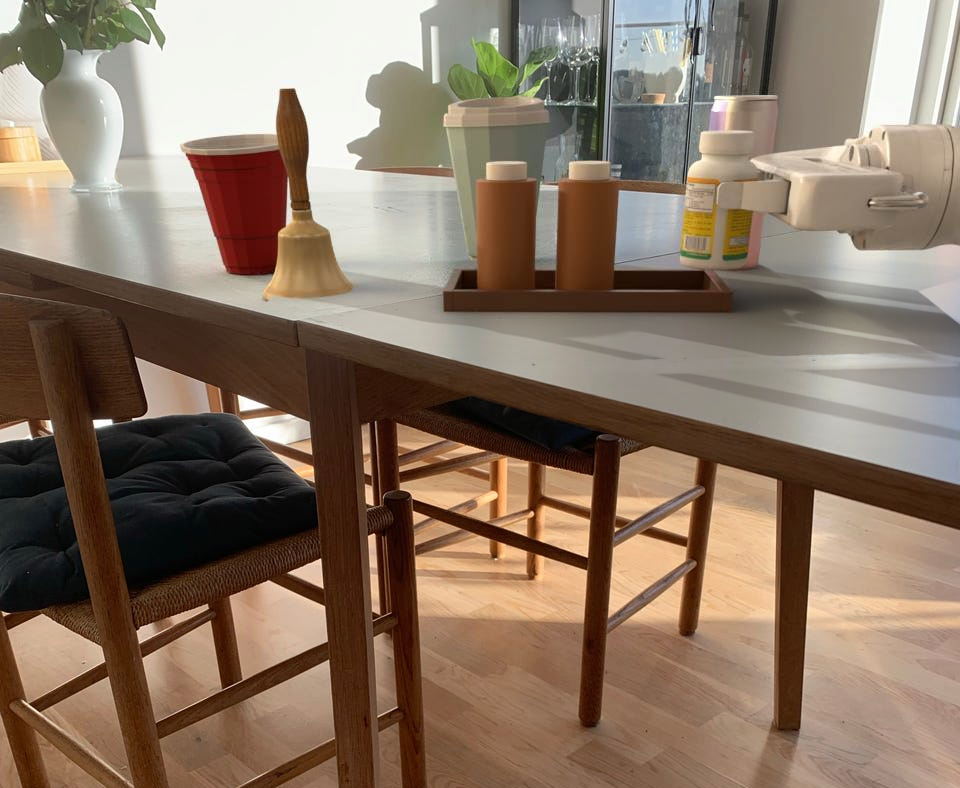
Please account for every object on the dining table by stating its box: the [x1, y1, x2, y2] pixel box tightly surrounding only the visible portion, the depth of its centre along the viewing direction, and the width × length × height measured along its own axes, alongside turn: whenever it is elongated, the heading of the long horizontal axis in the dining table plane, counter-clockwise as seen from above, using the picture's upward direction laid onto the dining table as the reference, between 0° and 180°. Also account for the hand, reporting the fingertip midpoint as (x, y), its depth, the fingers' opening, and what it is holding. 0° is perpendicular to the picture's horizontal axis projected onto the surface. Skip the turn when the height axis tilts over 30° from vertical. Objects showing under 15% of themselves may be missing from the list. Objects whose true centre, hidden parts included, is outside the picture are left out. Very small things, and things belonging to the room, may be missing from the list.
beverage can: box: [708, 94, 779, 272], centre depth 89 cm, size 6×6×15 cm
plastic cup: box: [179, 133, 289, 275], centre depth 93 cm, size 11×11×12 cm
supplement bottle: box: [679, 130, 758, 271], centre depth 74 cm, size 5×5×10 cm
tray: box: [442, 268, 734, 314], centre depth 79 cm, size 23×11×2 cm, turn 87°
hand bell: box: [262, 87, 356, 301], centre depth 80 cm, size 8×8×16 cm
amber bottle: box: [555, 160, 621, 290], centre depth 76 cm, size 5×5×10 cm
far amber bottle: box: [476, 161, 537, 290], centre depth 77 cm, size 5×5×10 cm
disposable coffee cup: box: [442, 96, 551, 262], centre depth 96 cm, size 11×11×15 cm
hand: (709, 190), depth 74 cm, fingers closed on supplement bottle, 5 cm apart
